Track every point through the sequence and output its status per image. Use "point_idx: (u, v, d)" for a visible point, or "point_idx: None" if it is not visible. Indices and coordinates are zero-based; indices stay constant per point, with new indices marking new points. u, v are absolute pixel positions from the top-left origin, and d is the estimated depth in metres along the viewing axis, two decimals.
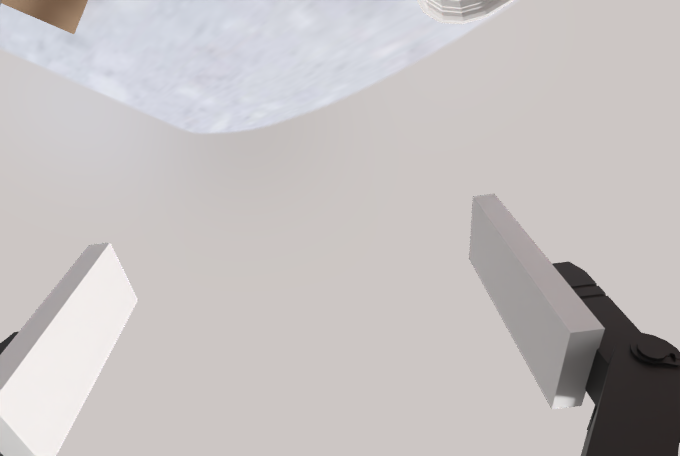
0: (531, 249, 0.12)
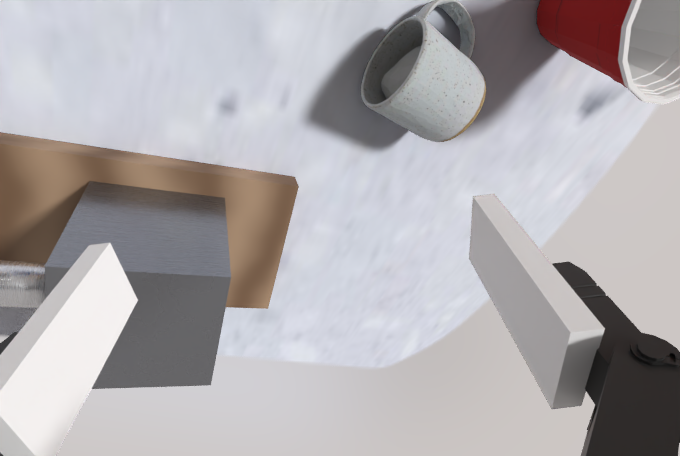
0: (531, 249, 0.12)
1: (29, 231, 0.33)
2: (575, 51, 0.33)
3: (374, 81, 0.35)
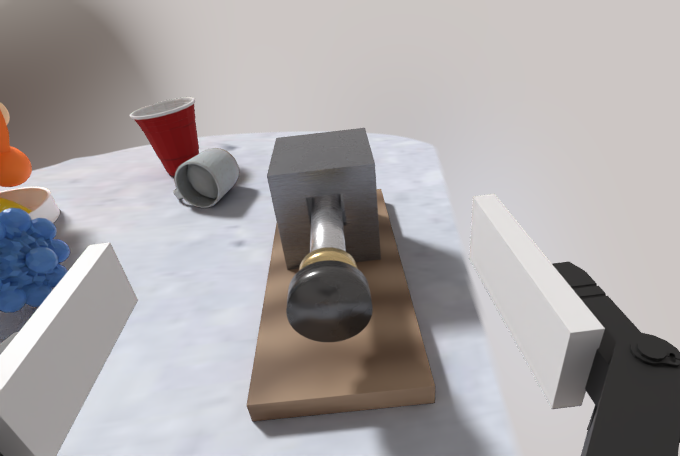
0: (531, 249, 0.12)
1: None
2: (190, 142, 0.72)
3: None
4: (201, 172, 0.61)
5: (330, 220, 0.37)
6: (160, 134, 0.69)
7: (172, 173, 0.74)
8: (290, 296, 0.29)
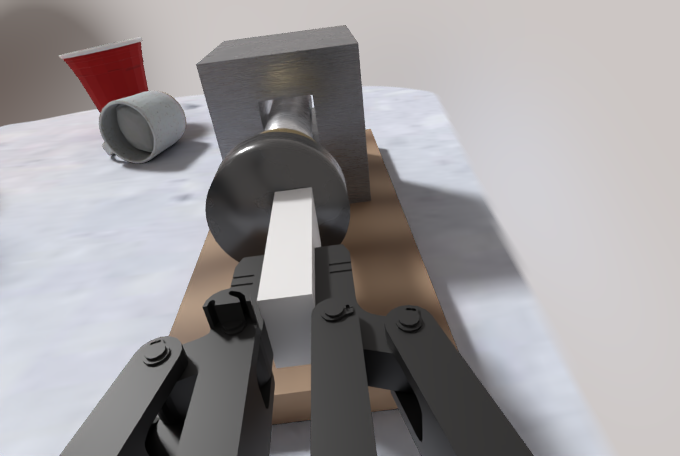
0: (305, 233, 0.14)
1: None
2: (137, 91, 0.59)
3: None
4: (133, 116, 0.48)
5: (292, 113, 0.25)
6: (96, 78, 0.55)
7: None
8: (210, 187, 0.17)
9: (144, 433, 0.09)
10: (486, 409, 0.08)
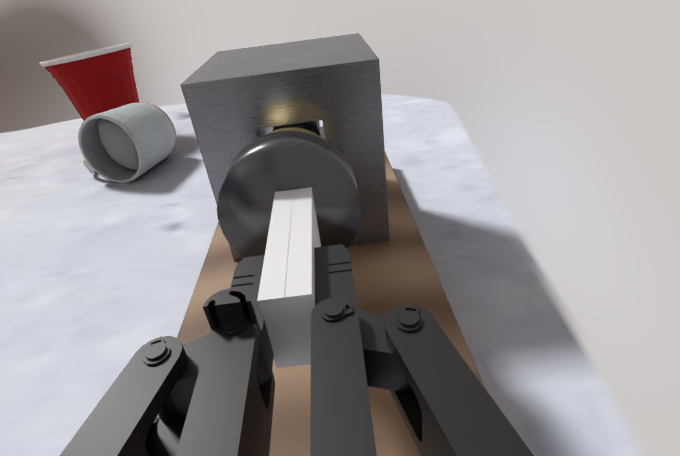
0: (304, 233, 0.14)
1: None
2: (126, 101, 0.54)
3: None
4: (116, 132, 0.44)
5: None
6: (80, 88, 0.51)
7: None
8: (222, 186, 0.17)
9: (144, 433, 0.09)
10: (486, 410, 0.08)
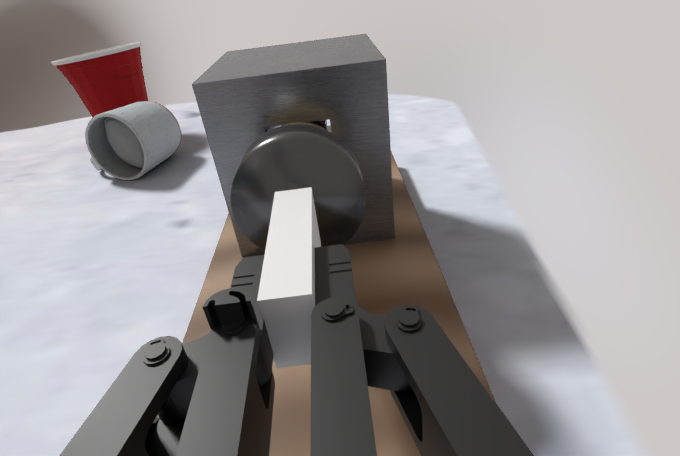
0: (305, 233, 0.14)
1: None
2: (135, 99, 0.55)
3: None
4: (122, 130, 0.45)
5: None
6: (91, 86, 0.51)
7: None
8: (235, 175, 0.18)
9: (144, 433, 0.09)
10: (486, 410, 0.08)
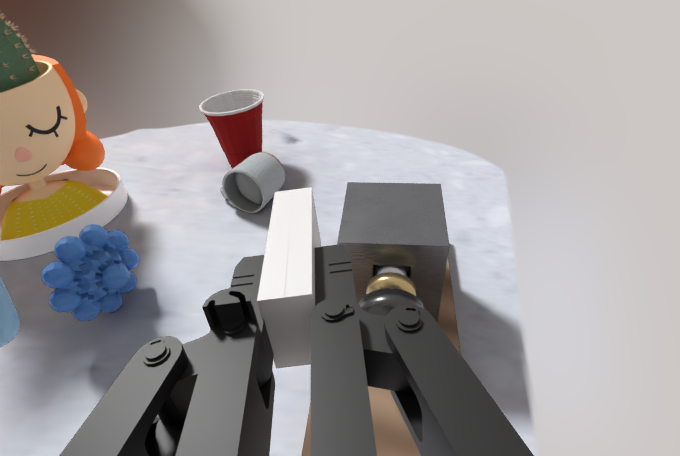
0: (305, 233, 0.14)
1: None
2: (255, 139, 0.71)
3: (259, 206, 0.64)
4: (248, 180, 0.62)
5: None
6: (227, 131, 0.68)
7: (234, 166, 0.74)
8: None
9: (144, 433, 0.09)
10: (487, 409, 0.08)
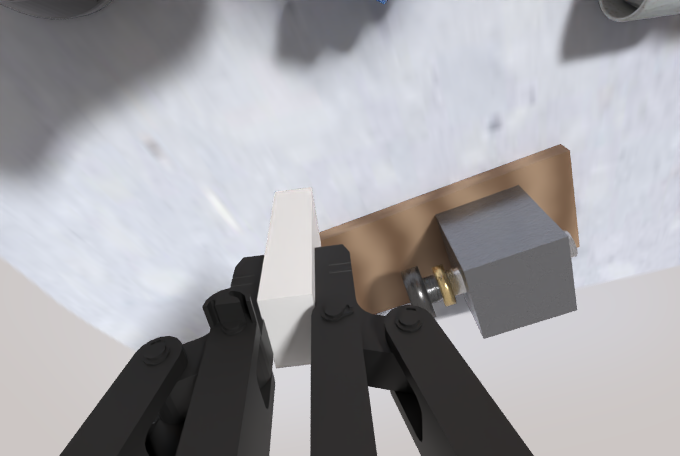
0: (305, 233, 0.14)
1: (413, 258, 0.53)
2: None
3: None
4: None
5: None
6: None
7: None
8: (407, 290, 0.45)
9: (144, 432, 0.09)
10: (486, 409, 0.08)
